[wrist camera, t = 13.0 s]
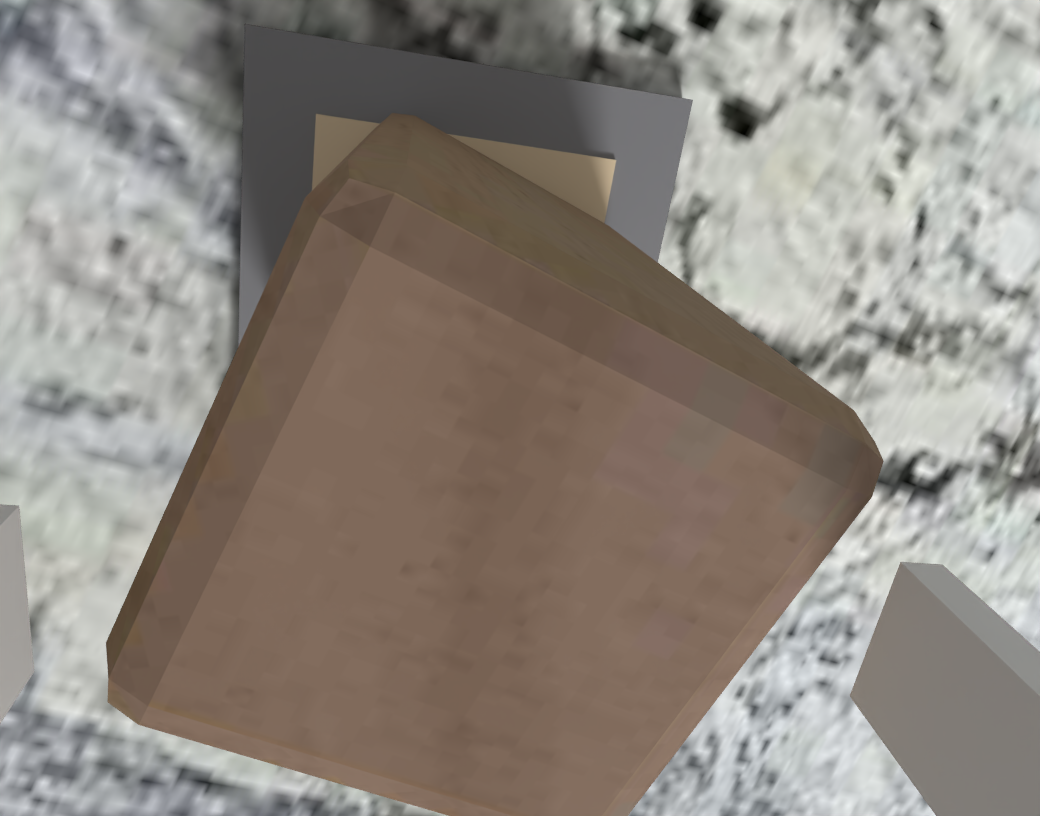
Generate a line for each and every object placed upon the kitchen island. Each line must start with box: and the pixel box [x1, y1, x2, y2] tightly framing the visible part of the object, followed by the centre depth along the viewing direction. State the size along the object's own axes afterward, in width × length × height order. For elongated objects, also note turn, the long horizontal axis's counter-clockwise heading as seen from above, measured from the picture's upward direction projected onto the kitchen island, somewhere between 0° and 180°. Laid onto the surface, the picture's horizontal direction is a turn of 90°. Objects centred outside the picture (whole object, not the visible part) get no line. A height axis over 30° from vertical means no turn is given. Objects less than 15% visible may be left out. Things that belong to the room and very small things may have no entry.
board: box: [238, 24, 693, 347], centre depth 31 cm, size 16×16×1 cm
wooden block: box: [106, 113, 883, 816], centre depth 21 cm, size 10×10×20 cm
